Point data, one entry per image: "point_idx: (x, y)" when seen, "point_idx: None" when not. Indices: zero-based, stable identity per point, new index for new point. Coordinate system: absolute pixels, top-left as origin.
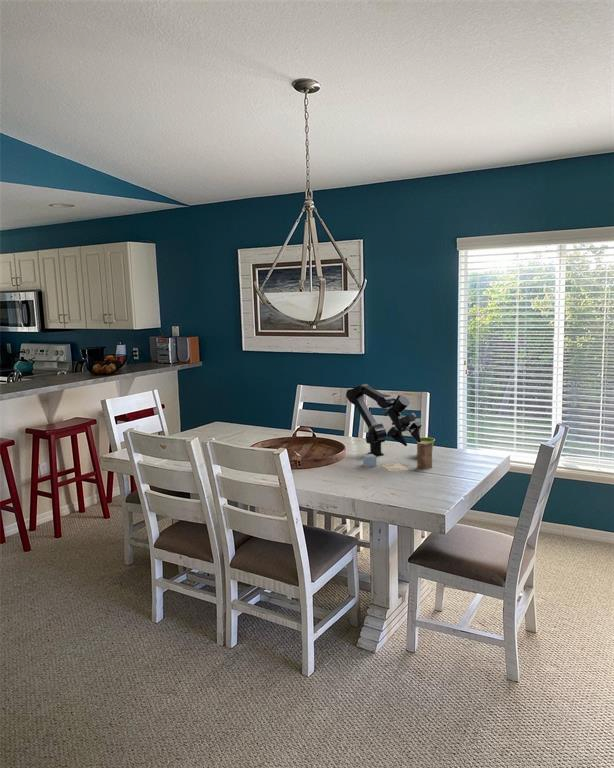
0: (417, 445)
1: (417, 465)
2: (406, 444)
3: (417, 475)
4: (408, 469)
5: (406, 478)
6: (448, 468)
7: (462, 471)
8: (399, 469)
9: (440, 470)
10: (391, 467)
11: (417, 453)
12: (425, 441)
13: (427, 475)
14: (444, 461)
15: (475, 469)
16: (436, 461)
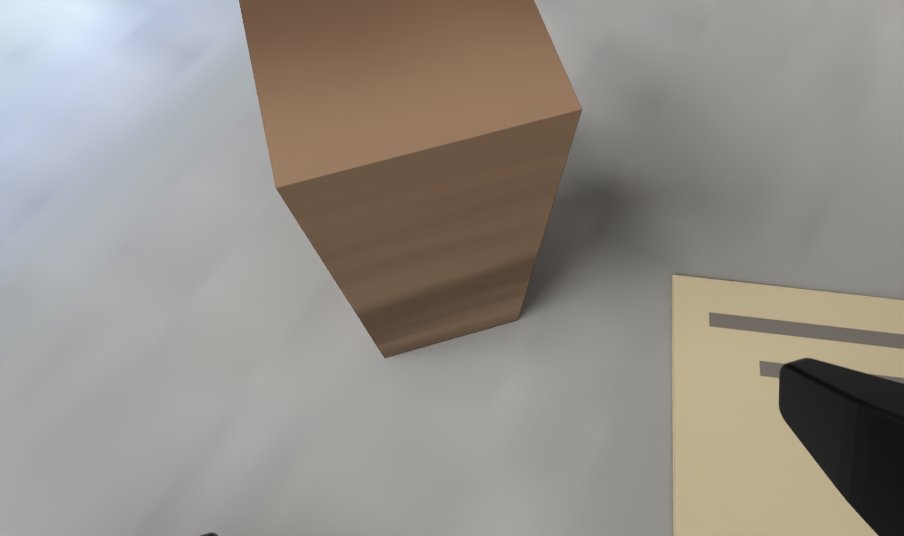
0: (564, 143)
1: (518, 308)
2: (822, 363)
3: (662, 67)
4: (674, 277)
5: (814, 31)
6: (209, 140)
7: (170, 9)
8: (791, 326)
9: None
10: None
11: (540, 233)
12: (278, 129)
13: (563, 32)
14: (6, 423)
15: (13, 12)
16: (93, 479)
